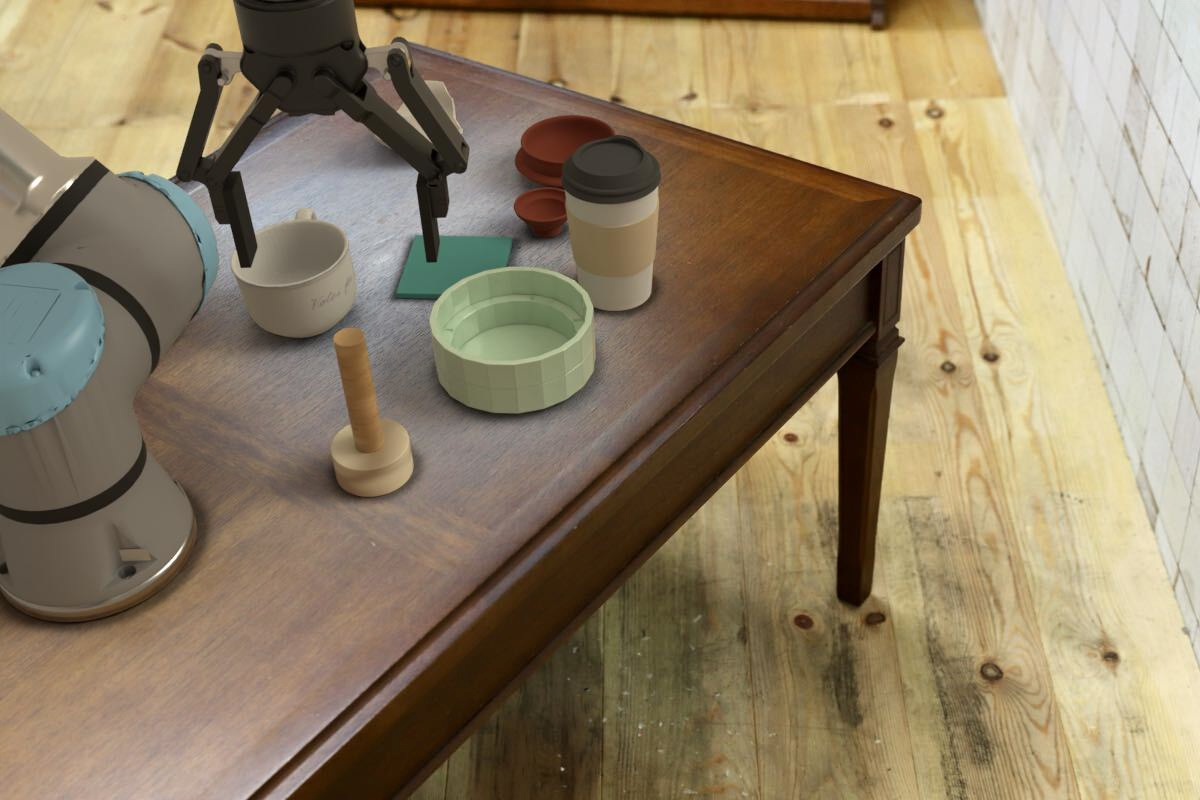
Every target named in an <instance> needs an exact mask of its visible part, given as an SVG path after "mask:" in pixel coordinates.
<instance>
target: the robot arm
mask: <svg viewBox="0 0 1200 800" xmlns="http://www.w3.org/2000/svg"><path fill="white" fill-rule="evenodd" d="M232 3H233V7H234V11H235V16H236V21H237V25H238V30H239V35H240V40H241V43H242V51H229V50H224V49H223V47H222V46H221V45H220V44H218V43H216V42H209V43H208V44H207V45H206V46H205V49H204V51H203V52H202V55H201V57H200V59H199V60H198V63H197V74H198V82H199V94H198V97H197V100H196V104H195V107H194V110H193V113H192V117H191V119H190V120H191V121H190V123H189V127H188V131H187V134H186V137H185V142H184V143H183V147H182V151H181V154H180V157H179V161H178V164H177V167H176V170H175V176H176V178H177V179H178V180H179V181H180V182H181V183H191V182H192V181H194V182H198V183H200V184H202V185H204V186H205V188H206V189H207V191H208V195H209V199H210V203H211V207H212V211H213V215H214V219H215V220H216V222H217V223H218V225H229V226H230V230H231V234H232V238H233V242H234V246H235V248H236V251H237V255H238V259H239V263H240V267H241V268H251V266H252V263H253V260H254V257H255V254H256V251H257V248H258V245H257V241H256V237H255V232H256V231H255V229H254V223H253V219H252V216H251V212H250V206H249V203H248V199H247V195H246V194H247V193H246V190H245V185H244V182H243V181H244V180H243V177H242V173H241V170H233V169H234V168H235V166H236V165H237V164H238V163H239V161H240V159H241V158H242V157H243V155H244V154H245V152H246V151H247V150H248V148H249V147H250V145H251V144H252V143H253V142H254V140H255V138H256V137H257V136H258V134H259V133H260V131H261V130H262V129H263V128H264V126H266V124H267V123H268V122H269V121H270V119H271V118H272V116H273V115H274V114H275V112H276V111H277V109H278V110H279V111H280V112H283V113H284V114H287V115H288V117H289V118H291V117H292V118H295V117H303V116H307V115H310V114H311V115H318V116H322V117H327V116H329V117H330V116H335V115H336V113H337V112H339V111H343V112H344V113H345V114H346V115H347V116H348V117H349V118H350V119H351V120H353V122H355V123H361V124H362V125H363V126H365V127H366V128H367V130H368V129H369V130H371V131H372V132H373V133H374V134H375V135H376V136H377V137H379V138H380V139H381V140H382V141H383V142H384V143H385V144H387V145H388V146H389V147H390V148H391V149H390V148H389V149H390V150H392V151H393V152H394V153H396V154H397V156H399V157H400V158H401V159H403V161H405V162H406V163H407V164H408V165H409V166H410V167H411V168H413V169H414V170H415V171H416V172H417V178H416V183H415V189H416V196H417V197H416V198H417V204H418V211H419V218H420V219H419V220H420V225H421V233H422V236H423V240H424V247H425V255H426V262H427V263H433V262H437V259H438V252H439V246H440V237H439V236H440V230H439V229H440V228H439V223H438V219H446V218H447V216H448V212H449V207H450V194H449V187H448V176H450V175H452V174H457V175H461V174H462V175H463V174H464V173H466V171H467V169H468V164H469V157H470V156H469V155H470V146H469V144H468V143H467V141H466V140H465V138H464V137H463V135H462V134H460V132H459V131H458V129H457V128H456V126H455V125H454V124H453V122H452V121H451V119H450V118H449V116H448V115H447V113H446V112H445V110H444V109H443V107H442V106H441V105H440V103H439V102H438V100H437V99H436V97H435V96H434V94H433V93H432V91H431V90H430V89H429V87H428V86H427V84H426V83H425V81H424V80H425V79H423V77H422V75H421V74H420V73H419V71H418V69H417V68H416V67H415V63H414V60H413V55H412V51H411V47H410V44H409V42H408V40H407V39H406V38H405V37H403V36H396V37H393V39H391V41H390V44H387V45H380V46H372V47H367V46H366V45H365V43H364V42H363V40H362V39H361V37H360V34H359V28H358V23H357V16H356V8H355V2H354V0H232ZM368 69H375V70H377V71H378V73H379V74H380V75H381V77H382V78H383V80H384V81H386V82H390V81H391V82H392V86H393V87H394V90H395V93H396V94H397V95H398V97H399V98H400V100H401V101H402V103H403V102H404V104H405V105H406V107H407V108H408V109H409V111H410V112H411V114H412V115H413V117H414V118H415V119H416V121H417V122H418V124H419V125H420V127H421V128H422V129H423V131H424V132H425V134H426V135H427V136H428V138H429V139H430V141H431V142H432V143H431V142H430V141H429V140H428V139H427V138H426V137H424V136H423V135H422V134H421V133H420V132H419V131H418V130H417V129H416V128H414V127H413V126H412V125H411V124H410V123H409V122H408V121H407V120H405V119H404V118H403V117H402V116H401V115H400V114H399V113H398V112H396V111H397V110H395V108H393V107H392V106H391V105H390V104H389V103H388V102H387V101H386V100H384V99H383V98H382V97H381V96H380V95H379V94H378V93H377V90H376V88H375V87H374V86H373V84H371V83H370V82H369V81H368V80H367V79H366V78H364V77H365V76H366V74H367V73H368ZM237 73H241V74H242V76H243V77H244V78H245V79H246V80H247V81H248V82H249V83H250V84H251V85H252V86H253V87H254V88H255V89H256V90H257V91H258V92H257V93H256V95H255V97H254V98H253V100H252V101H251V103H250V104H249V106H248V107H247V108H246V110H245V112H244V113H243V114H242V116H241V117H240V119H239V120H238V122H237V123H236V124H235V126H234V127H233V129H232V130H231V132H230V133H229V135H228V136H227V137H226V139H225V140H224V142H223V143H222V145H221V146H220V147H219V149H218V150H217V152H216V153H215V154H213V157H212V158H209V157H206V156H203V154H204V152H205V148H206V145H207V141H208V139H209V135H210V132H211V129H212V125H213V122H214V119H215V115H216V113H217V109H218V106H219V102H220V99H221V96H222V93H223V90H224V87H225V86H228V85H229V86H230V85H231V83H232V82H233V79H234V77H235V75H236V74H237ZM214 231H215V230H214V229H213V227H212V224H211V222H210V221H209V219H208V217H207V216H206V213H205V212H204V211H203V209H202V208H201V206H200V205H199V204H198V203H197V202H196V201H195V199H193V197H192V196H191V195H189V194H188V193H187V192H186V191H185V190H184V189H182V188H181V187H180V186H179V185H177V184H175V183H174V182H173V181H171V180H169V179H167V178H165V177H163V176H161V175H159V174H155V173H150V174H148V175H147V174H146V175H145V173H144V171H143V172H142V171H140V170H129V171H124V172H120V173H116V174H115V172H113V171H112V170H111V169H109V168H108V167H106V166H105V165H104V164H103V163H102V162H100V160H98V159H97V158H96V157H94V156H70V157H68V156H64V155H60V154H59V153H57V151H55V150H54V149H53V148H52V147H50V146H49V145H48V144H46V143H45V142H44V141H42V140H41V139H40V138H39V137H37V136H36V135H35V134H34V133H32V132H31V131H30V130H29V129H28V128H26V127H25V126H24V125H22V124H21V123H20V122H19V121H17V120H16V119H15V118H14V117H13V116H11V115H10V114H9V113H7V112H6V111H5V110H4V109H3V108H2V107H0V592H1V593H2V595H3V597H4V598H5V599H6V600H7V602H8V603H9V604H10V605H12V607H14V608H15V609H17V610H18V611H20V612H22V613H24V614H26V615H27V616H30V617H32V618H35V619H39V620H43V621H49V622H58V623H75V622H87V621H92V620H97V619H101V618H105V617H108V616H112V615H115V614H118V613H122V612H123V611H126V610H128V609H131V608H132V607H134V606H137V605H138V604H141V603H142V602H144V601H146V600H148V599H149V598H151V597H152V596H153V595H155V594H156V593H158V592H159V591H161V590H162V589H163V588H165V586H168V584H169V583H170V582H171V581H172V580H174V578H175V577H176V576H177V575H178V574H179V573H180V572H181V570H182V569H183V568H184V567H185V565H186V563H187V562H188V560H189V558H190V557H191V555H192V552H193V550H194V547H195V545H196V540H197V535H198V534H197V533H198V524H197V523H198V522H197V520H196V514H195V512H194V509H193V506H192V502H191V500H190V498H189V496H188V494H187V492H186V491H185V489H184V488H183V487H182V486H181V484H180V483H179V482H178V481H177V480H176V479H175V478H174V477H173V476H172V475H171V474H169V473H168V472H167V470H166V469H165V468H164V467H163V465H162V464H161V463H160V462H159V461H158V460H157V459H156V457H155V456H154V455H153V454H152V453H151V452H150V450H149V449H148V448H147V446H146V442H145V439H144V437H143V433H142V431H141V428H140V427H141V426H140V424H139V422H138V419H137V416H136V412H135V409H134V402H135V398H136V397H137V396H138V394H139V392H140V391H141V389H142V388H143V386H144V385H145V383H146V382H147V381H148V379H149V378H150V377H151V375H152V374H153V373H154V371H155V370H156V368H157V367H158V366H159V364H160V363H161V362H162V360H163V359H164V357H165V356H166V355H167V354H168V352H169V351H170V349H171V348H172V346H173V345H174V344H175V342H176V341H177V339H179V337H180V335H181V334H182V332H183V331H184V330H185V328H186V327H187V325H188V324H189V323H190V322H191V321H192V320H193V319H194V318H195V317H196V316H197V315H198V314H199V313H200V312H201V310H202V308H203V306H204V303H205V302H206V298H207V296H208V295H209V293H210V291H211V289H212V288H213V285H214V284H215V281H216V279H217V276H218V272H219V267H220V254H219V251H218V249H217V238H216V237H217V236H216V234H215V232H214Z"/></svg>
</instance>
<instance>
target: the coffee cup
mask: <svg viewBox="0 0 1200 800" xmlns="http://www.w3.org/2000/svg"><path fill="white" fill-rule="evenodd" d="M661 181H662V173H661V165H660V162H659V160H658V159H657V158H656V157H655V155H653V154H651V153H650V152H649V151H647V150H646V149H645V148H644V147H643V146H641V144H640V143H639V142H638V141H637V140H636V139H635V138H633V137H631V136H627V135H623V134H622V135H621V134H616V135H613V136H610V137H608V138H606V139H600V140H595V141H591V142H588V143H586V144H584V145H582V146H580V147H579V148H578V149H577V150H576V151H575V152H574V153H573V154H572V155H570V156H569V157H568V158H567V159H566V161H565V162H564V164H563V167H562V176H561V183H562V186H563V188H562V189H563V190H565V194H566V201H565V206H566V213H567V219H568V220H567V225H568V231H569V238H570V239H569V240H570V245H571V252H572V258H573V261H574V263H575V267H576V274H577V283H578V284H579V285H580V286H581V287H582V288H583V289H584V290H585V291H586V292H587V293H588V295H589V297H590V300H591V303H592V305H593V308H595V309H598V310H602V311H607V312H622V311H627V310H631V309H635V308H637V307H639V306H641V305H643V304H644V303H645V302H646V301H647V300H648V299H649V298H650V296H651V294H652V287H653V272H654V261H655V258H656V253H657V238H658V223H659V209H660V197H659V185H660V183H661Z"/></svg>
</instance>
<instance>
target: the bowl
mask: <svg viewBox="0 0 1200 800" xmlns="http://www.w3.org/2000/svg"><path fill="white" fill-rule="evenodd" d="M594 308H595V307H593V305H592V303H591V300H590V297H589V295H588V293H587V292H586V291H585V290H584V289H583V288H582V287H581V286H580V285H579V282H578V281H576V280H574V279H572V278H571V277H569V276H566V275H565V274H562V273H560V272H558V271H555V270H551V269H546V268H540V267H536V266H507V267H504V268H498V269H492V270H486V271H483V272H480V273H477V274H475V275H472V276H469V277H466V278H464V279H462V280H460V281H459V282H457V283H456V284H454V285H453V286H451V287H450V288H448V289H446V290H445V291H444V293H443V294H442V295H441V296H440V297H439V298H438V299H436V301H435V302H434V303H433V305H432V308H431V312H430V315H429V319H428V323H429V330H430V331H429V332H430V336H431V344H432V349H433V357H434V365H435V370H436V374H437V379H438V382H439V384H440V385H441V387H442V388H443V389H444V390H445V391H446V393H448V395H449V396H450V397H451V398H452V399H455V400H456V401H457V402H459V403H461V404H463V405H465V406H466V407H469V408H473V409H476V410H480V411H484V412H489V413H492V414H522V413H524V414H525V413H528V412H533V411H539V410H544V409H547V408H549V407H552V406H554V405H556V404H559V403H561V402H564V401H567V400H568V399H569V398H571V397H572V396H573V395H575V394H576V393H578V391H580V390H581V389H582V388H584V387H585V385H586V383H587V382H588V380H589V379H590V378H591V376H592V375H593V373H594V371H595V365H596V358H597V351H596V333H595V332H596V330H595V329H596V328H595V309H594Z"/></svg>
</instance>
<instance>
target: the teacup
mask: <svg viewBox="0 0 1200 800" xmlns="http://www.w3.org/2000/svg"><path fill="white" fill-rule="evenodd" d="M294 216H295V217H294V219H289V220H285V221H280V222H276V223H273V224H269V225H267V226H264V227H262V228H260V229H258V230H256V231H254V232H255V237H256V241H257V245H258V248H257V251H256V254H255V257H254V260H253V263H252V266H251V268H241V267H240V263H239V259H238V255H237V251H236V247H235V248H234V250H233V251H232V253H231V256H230V259H229V266H230V271H231V273H232V274H233V276H234V277H235V280H236V283H237V287H238V289H239V292H240V295H241V297H242V301H243V303H244V306H245V307H246V310H247V312H248V314H249V316H250V317H251V319H252V320H253V321H254V322H255V324H257V325H258V326H259V327H260V328H261V329H262V330H265V331H266V332H268V333H271V334H274V335H277V336H282V337H286V338H293V339H304V338H311V337H315V336H318V335H321V334H324V333H325V332H328V331H329V330H331V329H332V328H334V327H335V326H336V325H337V324H338V323H339V322H340V321H341V320H342V319H344V317H345V316H347V314H348V313H349V312H350V310H351V309H352V307H353V305H354V303H355V300H356V297H357V289H358V288H357V278H356V273H355V268H354V262H353V258H352V255H351V251H350V242H349V238H348V236H347V233H346V232H345V230H344V229H342V228H341V227H340V226H338V225H337V224H335V223H333V222H330V221H326V220H321V219H318V217H317V213H316V212H315V210H314V209H313V208H310V207H303V208H299V209H298V210H297V211H296V213H295V215H294Z"/></svg>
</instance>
